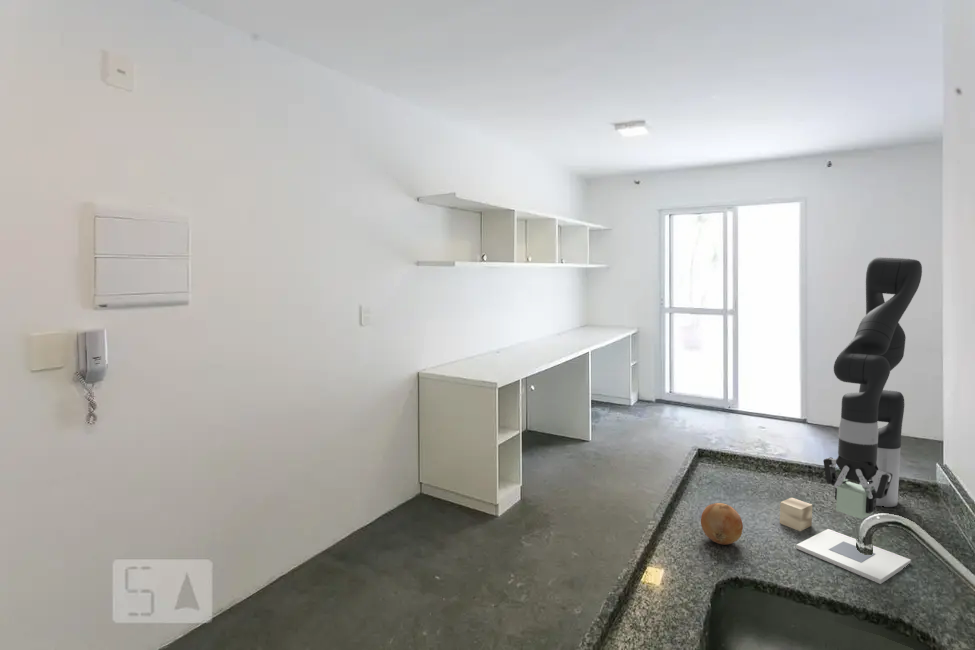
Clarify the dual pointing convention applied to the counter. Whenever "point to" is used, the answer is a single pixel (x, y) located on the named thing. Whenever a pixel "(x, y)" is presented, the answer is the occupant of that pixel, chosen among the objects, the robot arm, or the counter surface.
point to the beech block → (796, 514)
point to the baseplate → (853, 556)
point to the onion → (721, 523)
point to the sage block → (852, 500)
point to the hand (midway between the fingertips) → (854, 507)
